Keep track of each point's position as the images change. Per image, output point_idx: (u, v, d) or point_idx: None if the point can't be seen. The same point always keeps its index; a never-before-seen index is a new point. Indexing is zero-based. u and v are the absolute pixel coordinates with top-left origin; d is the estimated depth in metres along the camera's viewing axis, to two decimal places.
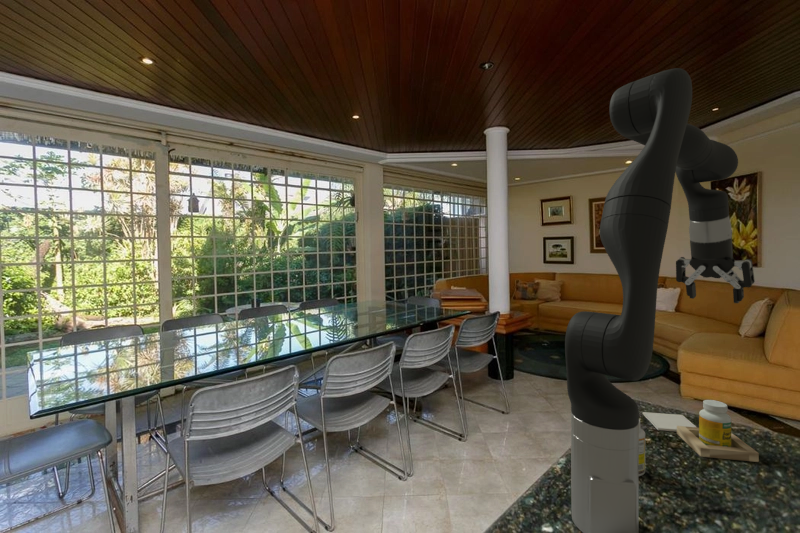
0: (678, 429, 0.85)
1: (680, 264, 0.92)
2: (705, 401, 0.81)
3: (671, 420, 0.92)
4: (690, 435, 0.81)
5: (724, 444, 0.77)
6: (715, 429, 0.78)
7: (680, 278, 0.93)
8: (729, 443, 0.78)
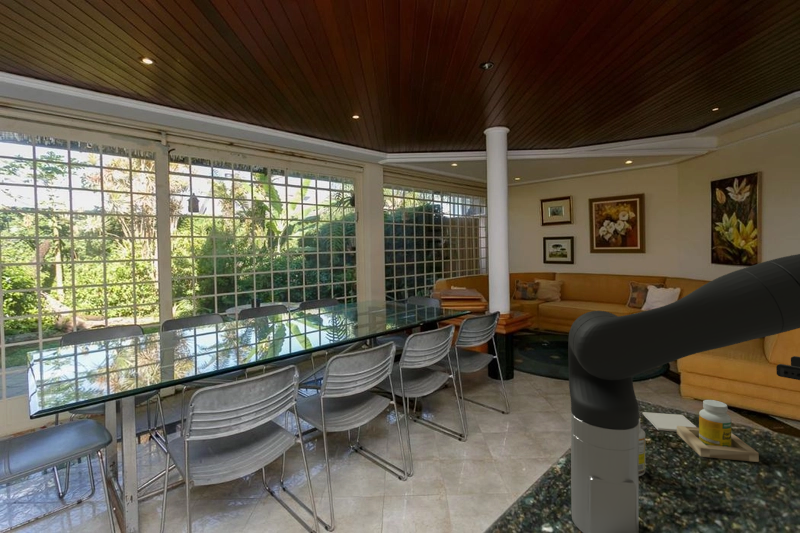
0: (678, 429, 0.85)
1: None
2: (705, 401, 0.81)
3: (671, 420, 0.92)
4: (690, 435, 0.81)
5: (724, 444, 0.77)
6: (715, 429, 0.78)
7: None
8: (729, 443, 0.78)
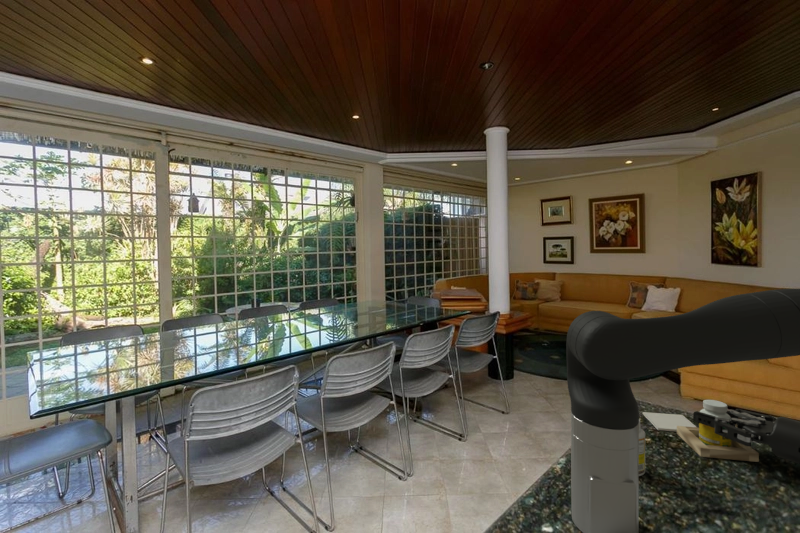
0: (678, 429, 0.85)
1: (766, 416, 0.77)
2: (705, 401, 0.81)
3: (671, 420, 0.92)
4: (690, 435, 0.81)
5: (724, 444, 0.77)
6: None
7: (741, 411, 0.80)
8: (729, 443, 0.78)
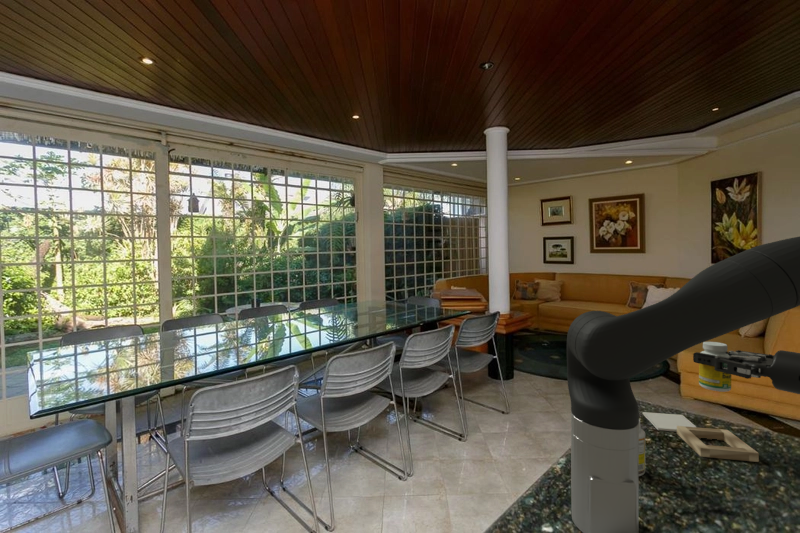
0: (678, 429, 0.85)
1: (766, 355, 0.77)
2: (705, 342, 0.80)
3: (671, 420, 0.92)
4: (690, 435, 0.81)
5: (724, 383, 0.77)
6: None
7: (741, 351, 0.79)
8: (729, 382, 0.77)
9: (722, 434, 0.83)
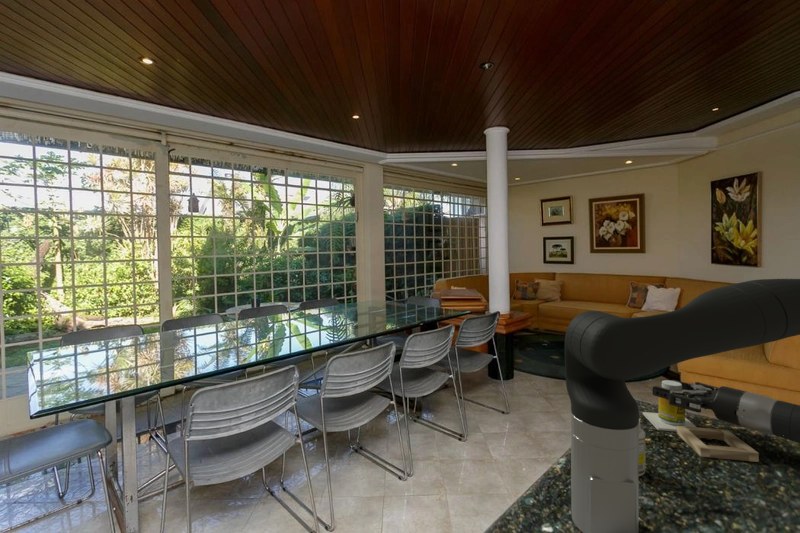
0: (678, 429, 0.85)
1: None
2: (663, 381, 0.92)
3: None
4: (690, 435, 0.81)
5: (678, 418, 0.88)
6: (670, 405, 0.89)
7: (699, 383, 0.91)
8: (683, 417, 0.89)
9: (722, 434, 0.83)
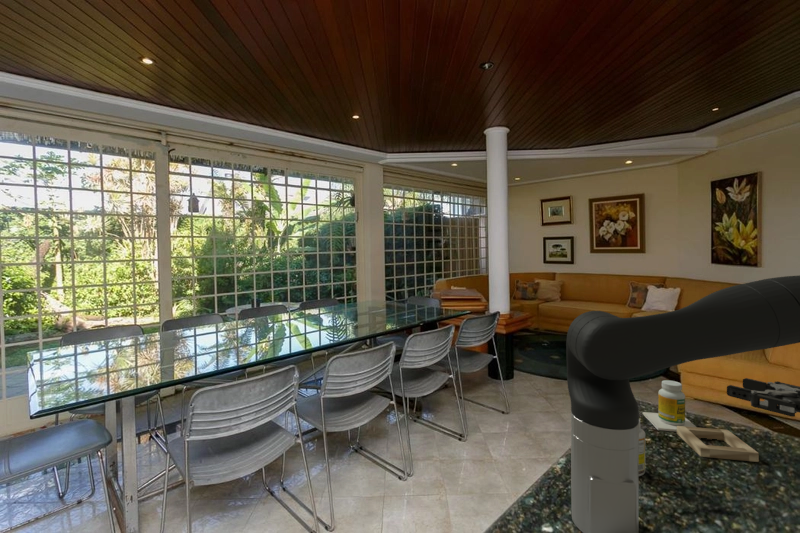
0: (678, 429, 0.85)
1: None
2: (663, 381, 0.92)
3: None
4: (690, 435, 0.81)
5: (678, 418, 0.88)
6: (670, 405, 0.89)
7: (780, 383, 0.78)
8: (683, 417, 0.89)
9: (722, 434, 0.83)
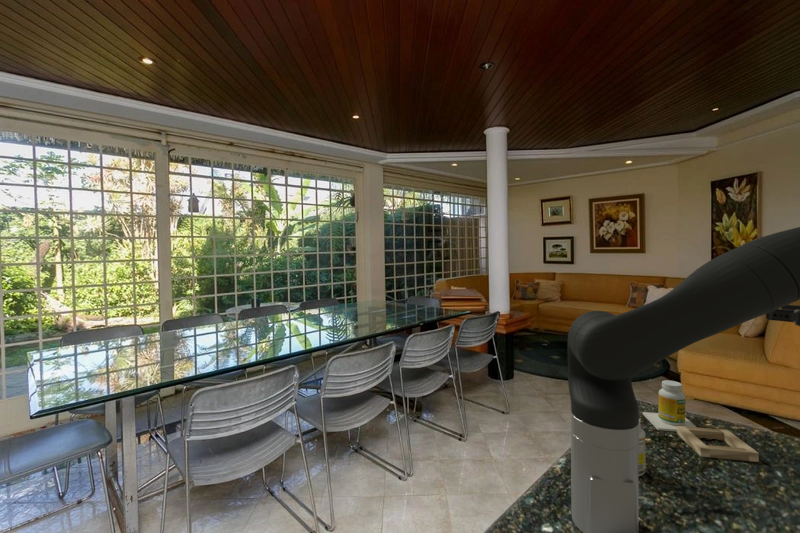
0: (678, 429, 0.85)
1: None
2: (663, 381, 0.92)
3: None
4: (690, 435, 0.81)
5: (678, 418, 0.88)
6: (671, 405, 0.89)
7: None
8: (683, 417, 0.89)
9: (722, 434, 0.83)
